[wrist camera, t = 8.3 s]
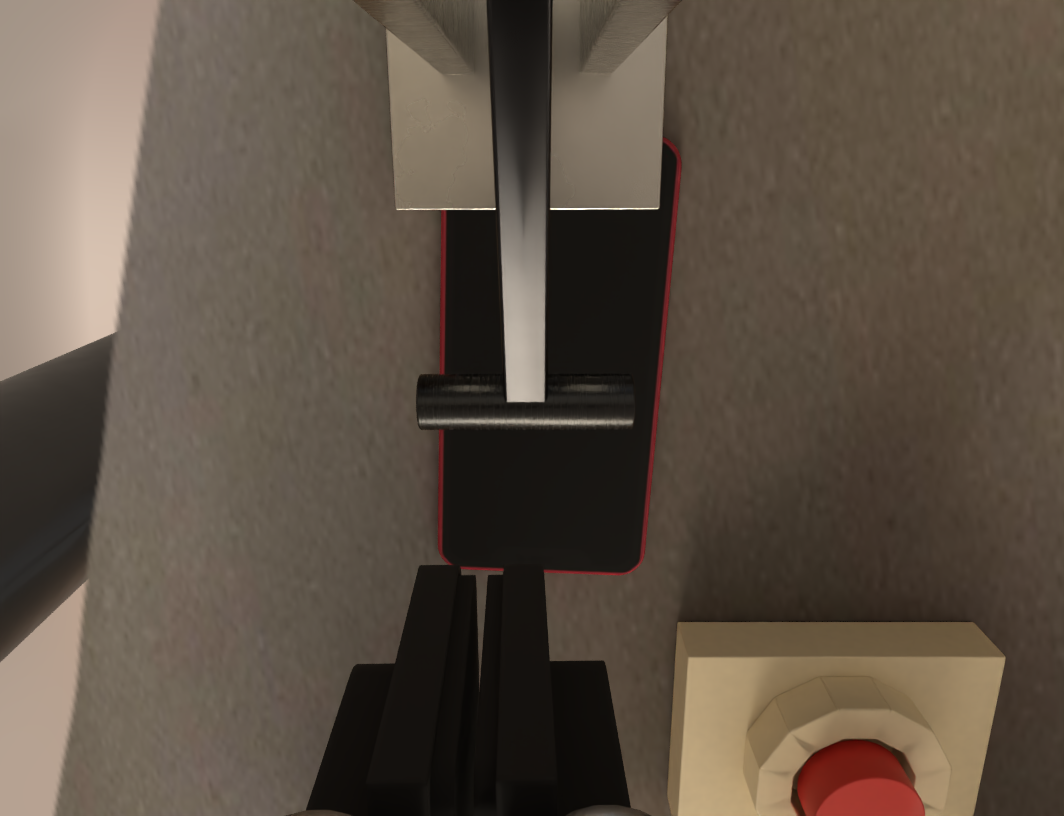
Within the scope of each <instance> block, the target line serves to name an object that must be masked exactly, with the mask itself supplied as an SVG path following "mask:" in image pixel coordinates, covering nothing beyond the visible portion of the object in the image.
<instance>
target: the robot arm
mask: <svg viewBox="0 0 1064 816" xmlns="http://www.w3.org/2000/svg"><path fill="white" fill-rule="evenodd" d="M286 816H651V815H649V814H647V813H645V812H643V811H641V810H637V809H633V808H631V806H630V801H629V795H628V789H627V783H626V778H625V772H624V766H623V761H622V755H621V749H620V743H619V738H618V732H617V726H616V721H615V715H614V709H613V703H612V698H611V692H610V686H609V680H608V675H607V669H606V665H605V662H604V661H550V659H549V643H548V627H547V612H546V596H545V580H544V565H543V564H504V572H503V575H488V581H487V595H486V609H485V623H484V637H483V650H482V664H481V678H480V692H479V660H478V625H477V590H476V576H475V575H461V567H460V565H420V566H419V568H418V572H417V576H416V580H415V584H414V588H413V592H412V596H411V600H410V605H409V609H408V613H407V617H406V621H405V625H404V629H403V633H402V637H401V641H400V645H399V649H398V654H397V658H396V662H395V664H357V665H355V666H354V667H353V669H352V672H351V674H350V677H349V680H348V683H347V686H346V689H345V692H344V695H343V698H342V701H341V704H340V707H339V710H338V714H337V717H336V720H335V723H334V726H333V729H332V732H331V735H330V738H329V741H328V744H327V747H326V750H325V753H324V756H323V759H322V762H321V765H320V769H319V772H318V775H317V778H316V781H315V784H314V787H313V790H312V793H311V796H310V799H309V802H308V805H307V808H306V811H302V812H298V813H294V814H290V815H286Z"/></svg>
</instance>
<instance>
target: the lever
mask: <svg viewBox="0 0 1064 816" xmlns="http://www.w3.org/2000/svg"><path fill="white" fill-rule="evenodd" d="M486 9H487V31H488V54H489V76H490V99H491V121H492V144H493V166H494V189H495V211H496V234H497V256H498V279H499V301H500V324H501V346H502V369H503V374H421V375H420V376H419V378H418V382H417V391H416V412H417V421H418V426H419V428H420V429H421V430H590V429H632V428H633V426H634V421H635V403H636V402H635V383H634V378H633V375H632V374H548V335H549V258H550V181H551V104H552V26H553V0H486Z"/></svg>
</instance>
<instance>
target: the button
mask: <svg viewBox="0 0 1064 816" xmlns="http://www.w3.org/2000/svg"><path fill="white" fill-rule="evenodd" d="M797 792H798V797H799V800H800V802H801V805H802V807H803V810H804V812H805V815H806V816H925V809H924V805H923V802H922V800H921V798H920V796H919V795H918V793H917V791H916V790H915V788H914V786H913V785H912V783H911V781H910V780H909V778H908V776H907V775H906V773H905V771H904V770H903V768H902V766H901V765H900V763H899V761H898V760H897V758H896V757H895V756H894V755H893V754H892V753H891V752H890V751H889V750H888V749H886V748H884V747H883V746H881V745H879V744H876V743H873V742H870V741H864V740H847V741H841V742H837V743H834V744H831V745H829V746H827V747H825V748H823V749H821V750H820V751H818V752H817V753H815V754H814V755H813V756H812V757H811V758H810V759H809V760H808V761H807V762H806V764H805V765H804V766H803V768H802V770H801V772H800V775H799V778H798V783H797Z"/></svg>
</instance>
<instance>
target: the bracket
mask: <svg viewBox="0 0 1064 816" xmlns="http://www.w3.org/2000/svg"><path fill="white" fill-rule="evenodd" d="M353 1H354V2H355V3H356V4H358V5H359V6H360V7H361V8H362V9H364V10H365V11H366V12H367V13H368V14H370V15H371V16H372V17H373V18H374V19H376V20H377V21H378V22H379V23H380V24H382V25H383V26H384V27H385V30H386V49H387V67H388V86H389V105H390V123H391V142H392V160H393V179H394V198H395V209H396V210H495V189H494V166H493V144H492V121H491V99H490V76H489V54H488V31H487V9H486V0H353ZM681 1H682V0H553V26H552V104H551V181H550V210H658V209H659V208H660V192H661V169H662V146H663V124H664V101H665V78H666V56H667V33H668V15H669V14H670V13H671V12H672V10H673V9H674V8H675V7H676V6H677V5H678V4H679V3H680V2H681Z"/></svg>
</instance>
